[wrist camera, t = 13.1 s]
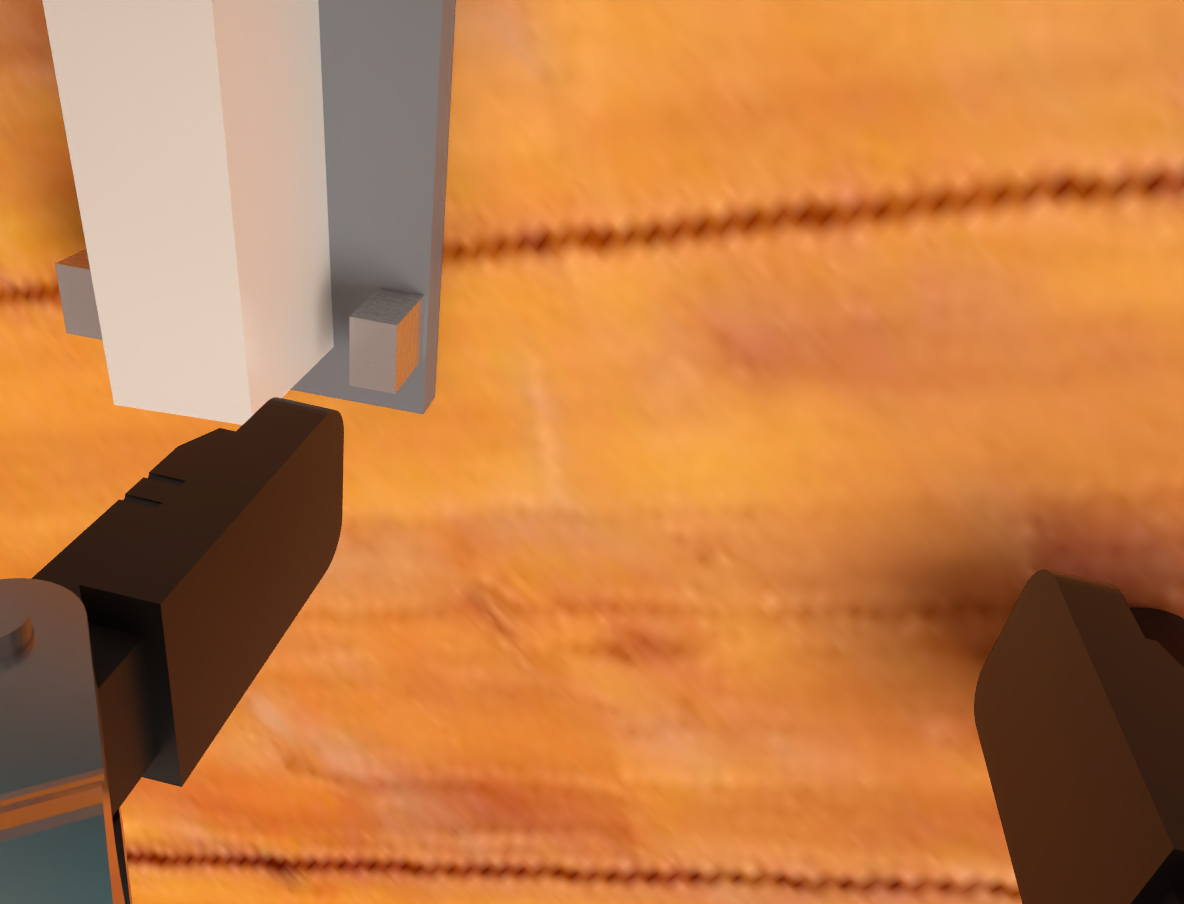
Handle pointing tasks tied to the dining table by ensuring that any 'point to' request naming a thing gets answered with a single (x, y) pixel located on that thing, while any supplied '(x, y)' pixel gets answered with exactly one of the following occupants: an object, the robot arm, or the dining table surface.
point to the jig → (368, 201)
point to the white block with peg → (200, 194)
